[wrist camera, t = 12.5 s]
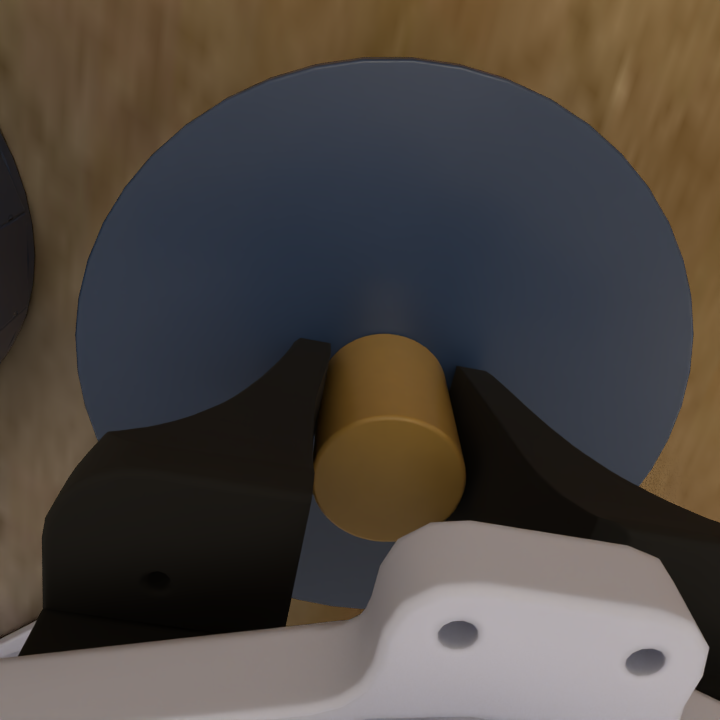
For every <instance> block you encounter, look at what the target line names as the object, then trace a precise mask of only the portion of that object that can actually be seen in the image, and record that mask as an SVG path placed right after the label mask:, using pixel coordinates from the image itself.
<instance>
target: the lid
mask: <svg viewBox="0 0 720 720" xmlns="http://www.w3.org/2000/svg"><path fill="white" fill-rule="evenodd" d="M75 336H76V352H77V368H78V375H79V380H80V384H81V389H82V394H83V399H84V403H85V407H86V410H87V413H88V415H89V418H90V421H91V424H92V426H93V429H94V432H95V435H96V437H97V440H98V441H99V440H100V439H101V438H102V437H103V436H104V435H105V434H106V433H107V432H109V431H119V430H127V429H134V428H142V427H149V426H154V425H159V424H163V423H167V422H171V421H175V420H179V419H182V418H185V417H189V416H192V415H194V414H197V413H199V412H202V411H204V410H207V409H209V408H212V407H214V406H217V405H219V404H221V403H223V402H225V401H227V400H229V399H231V398H232V397H234V396H236V395H237V394H239V393H240V392H242V391H243V390H245V389H246V388H247V387H249V386H250V385H251V384H253V383H254V382H255V381H256V380H258V379H259V378H260V377H262V376H263V375H264V374H265V373H266V372H267V371H269V370H270V369H271V368H272V367H273V366H274V365H275V364H276V363H277V362H278V361H279V360H280V359H281V358H282V357H283V356H284V355H285V354H286V353H287V351H288V350H289V349H290V348H291V346H292V345H293V343H294V342H295V341H296V340H298V339H300V338H304V339H310V340H316V341H321V342H327V343H331V356H330V361H329V366H328V371H327V376H326V381H325V386H324V391H323V396H322V401H321V405H320V409H319V413H318V418H317V423H316V431H315V436H314V441H313V465H314V472H315V474H314V484H313V494H312V501H311V506H310V511H309V516H308V521H307V525H306V530H305V535H304V540H303V545H302V549H301V554H300V559H299V564H298V569H297V573H296V578H295V583H294V588H293V593H292V598H295V599H298V600H303V601H308V602H313V603H318V604H323V605H329V606H337V607H347V608H358V609H366V607H367V605H368V602H369V600H370V598H371V596H372V593H373V589H374V585H375V582H376V578H377V575H378V571H379V568H380V565H381V563H382V562H383V560H384V559H385V557H386V556H387V554H388V553H389V551H390V550H391V548H392V547H393V545H394V544H395V542H396V541H397V539H399V538H401V537H403V536H405V535H407V534H409V533H411V532H413V531H415V530H417V529H419V528H421V527H423V526H425V525H427V524H429V523H431V522H444V521H445V520H446V519H447V518H448V517H450V515H451V514H452V513H453V512H454V510H455V509H456V507H457V506H458V504H459V502H460V500H461V498H462V495H463V493H464V489H465V485H466V467H465V463H464V458H463V454H462V449H461V445H460V441H459V436H458V432H457V427H456V423H455V419H454V414H453V410H452V405H451V401H450V396H449V391H450V387H451V384H452V380H453V377H454V374H455V370H456V367H457V366H461V367H467V368H472V369H478V370H483V371H487V372H488V373H490V374H491V375H492V376H494V377H495V378H496V379H497V380H498V381H499V382H501V383H502V384H503V385H504V386H505V387H506V388H507V389H508V390H509V391H510V392H511V393H513V394H514V395H515V396H516V397H517V398H518V399H519V400H520V401H521V402H522V403H523V404H524V405H526V406H527V407H528V408H529V409H530V410H531V411H532V412H533V413H534V414H536V415H537V416H538V417H539V418H540V419H541V420H542V421H544V422H545V423H546V424H547V425H548V426H549V427H551V428H552V429H553V430H554V431H556V432H557V433H558V434H559V435H561V436H562V437H563V438H564V439H566V440H567V441H568V442H569V443H571V444H572V445H573V446H575V447H576V448H577V449H579V450H580V451H582V452H583V453H584V454H586V455H587V456H589V457H591V458H592V459H594V460H595V461H597V462H598V463H600V464H601V465H603V466H604V467H606V468H607V469H609V470H610V471H612V472H614V473H615V474H617V475H619V476H620V477H622V478H624V479H626V480H628V481H630V482H631V483H633V484H635V485H637V486H639V485H640V484H641V483H642V481H643V480H644V479H645V477H646V476H647V475H648V473H649V472H650V471H651V469H652V468H653V466H654V464H655V462H656V460H657V459H658V457H659V455H660V453H661V451H662V450H663V448H664V446H665V444H666V442H667V441H668V439H669V436H670V434H671V431H672V429H673V426H674V424H675V421H676V419H677V416H678V414H679V411H680V409H681V406H682V402H683V398H684V394H685V390H686V386H687V381H688V377H689V373H690V366H691V355H692V344H693V319H692V301H691V293H690V289H689V284H688V279H687V275H686V270H685V265H684V261H683V257H682V255H681V252H680V250H679V247H678V244H677V242H676V239H675V237H674V234H673V231H672V229H671V226H670V224H669V221H668V220H667V218H666V216H665V215H664V213H663V211H662V209H661V208H660V206H659V204H658V202H657V201H656V199H655V197H654V196H653V194H652V192H651V190H650V189H649V187H648V186H647V184H646V183H645V182H644V181H643V180H642V178H641V177H640V176H639V175H638V173H637V172H636V171H635V170H634V168H633V167H632V166H631V165H630V163H629V162H628V161H627V160H626V159H625V157H624V156H623V155H622V154H621V153H620V152H619V151H618V150H617V149H616V148H615V147H614V146H612V145H611V144H610V143H609V142H608V141H607V140H606V139H605V138H604V137H603V136H601V135H600V134H599V133H598V132H597V131H596V130H595V129H594V128H593V127H591V126H590V125H589V124H588V123H586V122H585V121H583V120H582V119H580V118H579V117H577V116H576V115H574V114H573V113H571V112H570V111H568V110H567V109H565V108H564V107H562V106H561V105H559V104H558V103H556V102H554V101H553V100H551V99H550V98H548V97H545V96H543V95H541V94H539V93H537V92H535V91H532V90H530V89H528V88H526V87H524V86H522V85H519V84H517V83H515V82H513V81H511V80H509V79H506V78H504V77H501V76H498V75H494V74H491V73H488V72H484V71H481V70H477V69H474V68H471V67H467V66H464V65H460V64H455V63H448V62H441V61H434V60H427V59H420V58H413V57H362V58H355V59H348V60H342V61H335V62H328V63H321V64H315V65H312V66H308V67H305V68H302V69H298V70H295V71H291V72H288V73H285V74H281V75H278V76H274V77H271V78H269V79H267V80H264V81H262V82H260V83H258V84H256V85H254V86H251V87H249V88H247V89H245V90H243V91H240V92H238V93H236V94H234V95H232V96H230V97H228V98H226V99H225V100H223V101H222V102H220V103H219V104H217V105H215V106H214V107H212V108H211V109H209V110H208V111H206V112H205V113H203V114H202V115H200V116H198V117H197V118H195V119H194V120H192V121H191V122H189V123H188V124H186V125H185V126H184V127H183V128H182V129H180V130H179V131H178V132H177V133H176V134H175V135H174V136H173V137H171V138H170V139H169V140H168V141H167V142H166V143H165V144H163V145H162V146H161V147H160V148H159V149H158V150H157V151H156V152H154V153H153V154H152V155H151V157H150V158H149V159H148V160H147V161H146V162H145V164H144V165H143V166H142V167H141V168H140V170H139V171H138V172H137V173H136V174H135V176H134V177H133V178H132V179H131V180H130V182H129V183H128V184H127V185H126V186H125V188H124V189H123V191H122V193H121V194H120V196H119V197H118V199H117V201H116V202H115V204H114V206H113V207H112V209H111V211H110V212H109V214H108V216H107V217H106V219H105V221H104V222H103V224H102V227H101V229H100V232H99V234H98V236H97V239H96V241H95V244H94V246H93V248H92V251H91V253H90V256H89V258H88V261H87V265H86V269H85V273H84V277H83V281H82V286H81V290H80V294H79V299H78V310H77V322H76V333H75Z"/></svg>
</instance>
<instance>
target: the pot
mask: <svg viewBox="0 0 720 720" xmlns="http://www.w3.org/2000/svg"><path fill="white" fill-rule="evenodd" d="M34 257H35V254H34V242H33V231H32V222H31V218H30V213H29V209H28V204H27V200H26V195H25V191H24V188H23V185H22V182H21V179H20V177H19V174H18V171H17V168H16V165H15V162H14V160H13V157H12V155H11V153H10V151H9V149H8V147H7V145H6V143H5V141H4V138H3V136H2V134H1V132H0V363H1V361H2V360H3V359H4V357H5V356H6V354H7V353H8V351H9V349H10V348H11V346H12V344H13V343H14V341H15V339H16V338H17V336H18V334H19V331H20V329H21V326H22V324H23V321H24V318H25V316H26V313H27V311H28V306H29V301H30V296H31V291H32V287H33V275H34Z"/></svg>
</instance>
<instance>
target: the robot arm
mask: <svg viewBox="0 0 720 720" xmlns="http://www.w3.org/2000/svg"><path fill="white" fill-rule="evenodd" d="M330 356H331V343H327V342H321V341H316V340H310V339H304V338H300V339H298V340H296V341H295V342H294V343H293V345H292V346H291V348H290V349H289V350H288V351H287V353H286V354H285V355H284V356H283V357H282V358H281V359H280V360H279V361H278V362H277V363H276V364H275V365H274V366H273V367H272V368H271V369H270V370H269V371H267V372H266V373H265V374H264V375H263V376H262V377H260V378H259V379H258V380H256V381H255V382H254V383H253V384H251V385H250V386H249V387H247V388H246V389H245V390H243V391H242V392H240V393H239V394H237V395H236V396H234V397H232V398H231V399H229V400H227V401H225V402H223V403H221V404H219V405H217V406H214V407H212V408H209V409H207V410H204V411H202V412H199V413H197V414H194V415H192V416H189V417H185V418H182V419H179V420H175V421H171V422H167V423H163V424H159V425H154V426H149V427H142V428H134V429H127V430H119V431H109V432H107V433H106V434H105V435H104V436H103V437H102V438H101V439H100V440H99V441H98V442H97V444H96V445H95V446H94V447H93V448H92V449H91V450H90V451H89V452H88V454H87V455H86V456H85V457H84V458H83V459H82V461H81V462H80V463H79V464H78V465H77V467H76V468H75V469H74V471H73V472H72V474H71V475H70V477H69V478H68V480H67V481H66V483H65V485H64V486H63V488H62V490H61V491H60V493H59V495H58V497H57V498H56V500H55V502H54V503H53V505H52V507H51V508H50V510H49V512H48V514H47V515H46V517H45V523H44V529H43V535H42V576H43V610H42V612H41V613H40V615H39V617H38V619H37V620H36V621H34V622H33V623H31V624H29V625H27V626H25V627H23V628H21V629H19V630H17V631H15V632H13V633H11V634H9V635H7V636H5V637H3V638H1V639H0V720H720V523H719V522H716V521H713V520H710V519H708V518H705V517H703V516H700V515H698V514H696V513H693V512H691V511H689V510H687V509H684V508H682V507H680V506H677V505H675V504H673V503H671V502H668V501H666V500H664V499H662V498H660V497H658V496H656V495H654V494H652V493H650V492H648V491H646V490H644V489H642V488H641V487H639V486H637V485H635V484H633V483H631V482H630V481H628V480H626V479H624V478H622V477H620V476H619V475H617V474H615V473H614V472H612V471H610V470H609V469H607V468H606V467H604V466H603V465H601V464H600V463H598V462H597V461H595V460H594V459H592V458H591V457H589V456H587V455H586V454H584V453H583V452H582V451H580V450H579V449H577V448H576V447H575V446H573V445H572V444H571V443H569V442H568V441H567V440H566V439H564V438H563V437H562V436H561V435H559V434H558V433H557V432H556V431H554V430H553V429H552V428H551V427H549V426H548V425H547V424H546V423H545V422H544V421H542V420H541V419H540V418H539V417H538V416H537V415H536V414H534V413H533V412H532V411H531V410H530V409H529V408H528V407H527V406H526V405H524V404H523V403H522V402H521V401H520V400H519V399H518V398H517V397H516V396H515V395H514V394H513V393H511V392H510V391H509V390H508V389H507V388H506V387H505V386H504V385H503V384H502V383H501V382H499V381H498V380H497V379H496V378H495V377H494V376H492V375H491V374H490V373H488V372H487V371H483V370H478V369H472V368H467V367H461V366H457V367H456V370H455V374H454V377H453V380H452V384H451V387H450V391H449V396H450V401H451V405H452V410H453V414H454V419H455V423H456V427H457V432H458V436H459V441H460V445H461V449H462V454H463V458H464V463H465V467H466V485H465V489H464V493H463V495H462V498H461V500H460V502H459V504H458V506H457V507H456V509H455V510H454V512H453V513H452V514H451V515H450V517H448V518H447V519H446V520H445V521H444V522H431V523H429V524H427V525H425V526H423V527H421V528H419V529H417V530H415V531H413V532H411V533H409V534H407V535H405V536H403V537H401V538H399V539H397V541H396V542H395V544H394V545H393V547H392V548H391V550H390V551H389V553H388V554H387V556H386V557H385V559H384V560H383V562H382V563H381V565H380V568H379V571H378V575H377V578H376V582H375V585H374V589H373V593H372V596H371V598H370V600H369V602H368V605H367V607H366V609H365V610H364V611H363V612H362V613H361V614H360V615H358V616H356V617H354V618H352V619H349V620H342V621H333V622H324V623H315V624H306V625H297V626H288V627H285V626H286V622H287V617H288V612H289V607H290V602H291V598H292V593H293V588H294V583H295V578H296V573H297V569H298V564H299V559H300V554H301V549H302V545H303V540H304V535H305V530H306V525H307V521H308V516H309V511H310V506H311V501H312V494H313V484H314V474H315V472H314V465H313V441H314V436H315V431H316V423H317V418H318V413H319V409H320V405H321V401H322V396H323V391H324V386H325V381H326V376H327V371H328V366H329V361H330Z"/></svg>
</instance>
